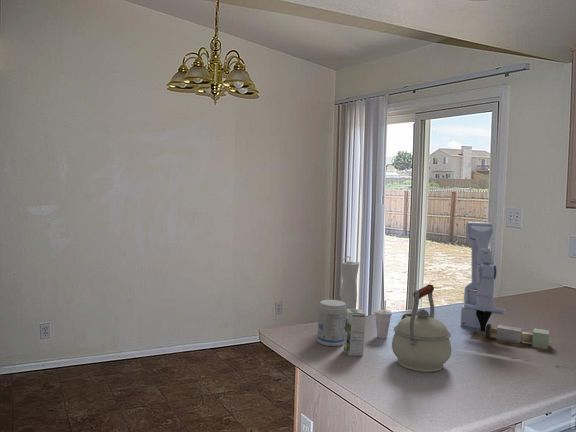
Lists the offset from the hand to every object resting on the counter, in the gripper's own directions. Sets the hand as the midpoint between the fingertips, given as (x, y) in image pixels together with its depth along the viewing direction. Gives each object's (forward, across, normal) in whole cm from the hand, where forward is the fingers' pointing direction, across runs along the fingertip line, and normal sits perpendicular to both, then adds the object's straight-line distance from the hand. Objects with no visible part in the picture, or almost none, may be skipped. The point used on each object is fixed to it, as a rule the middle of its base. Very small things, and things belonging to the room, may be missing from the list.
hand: (482, 330), depth 190 cm
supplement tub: (+3, -46, -39) cm, 60 cm away
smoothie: (+3, -33, -21) cm, 39 cm away
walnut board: (+3, +10, 0) cm, 10 cm away
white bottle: (+3, -50, -15) cm, 52 cm away
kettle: (+3, -13, -41) cm, 43 cm away
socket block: (+2, +20, 0) cm, 20 cm away
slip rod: (+2, +10, 0) cm, 10 cm away
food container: (+3, -20, -19) cm, 28 cm away
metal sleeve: (+2, +9, 0) cm, 9 cm away
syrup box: (+3, -35, -45) cm, 57 cm away
